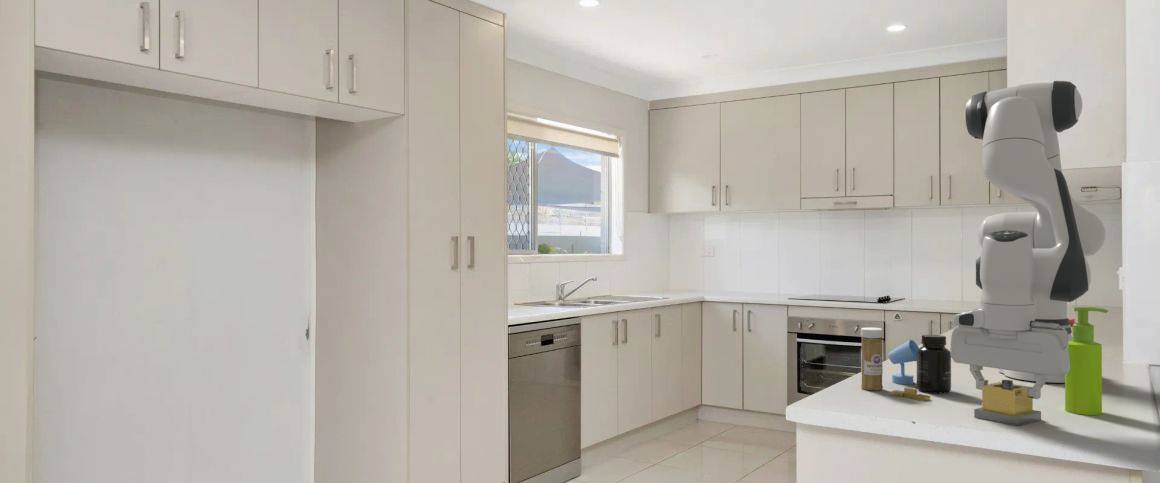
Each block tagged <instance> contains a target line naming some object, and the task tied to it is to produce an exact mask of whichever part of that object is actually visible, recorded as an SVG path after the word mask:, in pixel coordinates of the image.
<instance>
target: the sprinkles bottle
mask: <svg viewBox="0 0 1160 483" xmlns="http://www.w3.org/2000/svg"><path fill="white" fill-rule="evenodd" d="M883 337H884V331H883V328H881V327H874V326H873V327H871V326H870V327H861V329H860V338H861V339H860V340H861V350H860V354H861V355H860V360H861V362H860V364H861V366H860V367H861V368H860V369H861V370H860V372H861V389H863V390H864V391H875V392H876V391H882V390H883V389H884V388H883V371H884V370H883Z"/></svg>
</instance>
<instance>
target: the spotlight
mask: <svg viewBox="0 0 1160 483" xmlns="http://www.w3.org/2000/svg"><path fill="white" fill-rule="evenodd" d="M919 348H920V347H919V345H918V344H917V343H916V341H915V340H913V339H909V340H907V341H906V342H904V343H903V344H901V345H899V346H898V347H896V348H894V349H892V350H891V351H889V352H888V358H889V361H890V362H891V364H894V365H898V364H899V365H900V373H893V374H892V375H891V376H892V377H891V381H892V383H893V384H897V385H913V384H914V375H913V374H910V373H905V364H906V363H910V362H911V363H912V362H917V350H918V349H919Z"/></svg>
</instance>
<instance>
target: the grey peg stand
mask: <svg viewBox="0 0 1160 483" xmlns="http://www.w3.org/2000/svg"><path fill="white" fill-rule="evenodd" d="M1001 382H1002V388H1006V389H1013V384H1014V380H1012V379H1001ZM973 413H974V415H973V417H974V418H976V419H982V420H986V421H992V422H996V423H1000V424H1007V425H1011V424H1012V426H1016V427H1017V426H1018V427H1020V426H1023V424H1024V425H1027V424H1031V423H1033V422H1036V421H1041V420H1042V411H1041V410H1037V409H1036V410H1034V409H1033V411H1031V412H1027V413H1023V414H1020V415H1016V416H1014V415H1009V414H1004V413H999V412H993V411H988V410H983V409H982V407H978V408H974V411H973ZM1019 425H1020V426H1019Z"/></svg>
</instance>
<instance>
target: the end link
mask: <svg viewBox="0 0 1160 483" xmlns="http://www.w3.org/2000/svg"><path fill="white" fill-rule="evenodd" d="M1030 387H1031V386H1027V385H1022V384H1016V383H1015V384H1014V383H1013V389H1006V388H1002V381H998V382H994V383H988V385H984V386H982V390H981V391H982V392H981V393H982V394H981V397H982V398H981V402H982V403H981V406H982V409H983V410H988V411H993V412H999V413H1004V414H1009V415H1014V416H1016V415H1020V414H1023V413H1027V412H1031V411H1033V410H1034V409H1033V408H1034V407H1033V400H1034V399H1033V398H1028V396H1027V394H1028V392H1027V388H1030Z"/></svg>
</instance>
